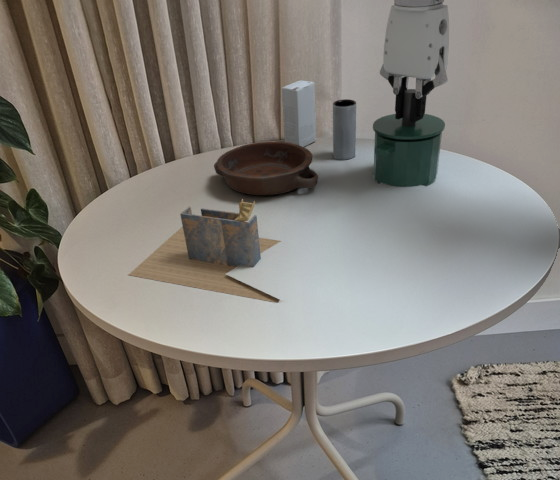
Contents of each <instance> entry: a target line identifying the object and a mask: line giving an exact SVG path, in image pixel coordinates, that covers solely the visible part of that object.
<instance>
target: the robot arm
mask: <svg viewBox="0 0 560 480" xmlns="http://www.w3.org/2000/svg"><path fill="white" fill-rule="evenodd" d="M444 2H445V0H394V1H393V5H391V6H390V10H389V14H388V18H387V22H386V29H385V36H384V45H383V55H382V56H383V61H382V62H383V63H382V65H381V68H380V70H379V75H380V76H381V77H383V78H384V79H385V80H387V81H388V83H389V85H390V86H391V88H392V93H393V95H395V101H394V102H395V103H394V112H395V113H394V114H395V119H401V118H402V114H403V100H404V91H405V90H407V89H409V88H408V87H409V78H412V79H413V78H414V79H415V89H416V90H415V97H414V98H413V99H412V105H411V118H410V121H411V122H413V123H415V122H417V121H419V120H420V119H422V118H423V116H424V114H426V105H427V97H428V95H430V94H431V92H432V91H433V90H434V89H435V88H437V87H440V86H442V85H445V84H446V83H447V82H448V81H449V80H448V76H447V72H446V71H447V68H448V61H449V49H450V47H449V46H450V17H449V16H450V15H449V6H448V5H447V4H444ZM434 76H435V77H434ZM433 77H434V78H433ZM432 78H433V79H432Z"/></svg>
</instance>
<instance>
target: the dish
mask: <svg viewBox="0 0 560 480" xmlns="http://www.w3.org/2000/svg"><path fill="white" fill-rule="evenodd" d="M313 159H314V156H313V153H312V152H311V150H309V149H308V148H306V147H302V146H300V145H297V144H293V143H288V142H285V141H277V140H276V141H261V142H260V141H259V142H253V143H252V142H251V143H247V144H244V145H241V146H238V147H235V148H233V149H231V150H228V151H226V152H224V153H223V154H221V155H220V156H219V157H218V159H217V160H216V162H215V163H214V165H213V168H214V170H215V173H216V174H217V175H218V176H221V177H223V178H224V181H225V182H226V184H227V185H228V186H229V187H230V188H231V189H232V190H234V191H236V192H239V193H242V194H247V195H254V196H273V195H279V194H280V195H281V194H286V193H288V192H291V191H294V190H295V189H313V188H316V187H317V186H318V183H319V175H318V173H317V172H316V171H313V170H312V169H311V168H310V165H311V164H312V162H313Z"/></svg>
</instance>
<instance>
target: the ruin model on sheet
mask: <svg viewBox="0 0 560 480" xmlns="http://www.w3.org/2000/svg"><path fill="white" fill-rule="evenodd" d="M255 204H256V201H255V200H253V202H247V201H246V202H245V201H244V199H243V198H242V199H241V201H240V203H238V208H239V209H238V210H239V212H233V211H225V210H218V209H212V208H211V209H209V208H203V207H201V208H200V214H201V215H199V214H193V212H192V206H187V208H185V209H184V210H183V211H181V213H179V215H180V220H181V227H180V228H179V229H177V231H175V233H173V234H172V235H171V236H170V237H168V239H167V240H165V241H164V242H163V243H162V244H161V245H160V246H159V247H158V248H156V249H155V250H154V251H153V252H152V253H150V255H148V257H146V258H145V259H144V260H143V261H142V262H141V263H139V265H138V266H136V267H135V268H134V269H133V270H132V271H131V272H130V273H128V276H132V277H138V278H144V279H148V280H155V281H159V282H164V283H170V284H175V285H181V286H185V287H191V288H197V289H203V290H207V291H214V292H218V293H224V294H228V295H235V296H239V297H246V298H250V299H251V298H252V299H255V300H262V301H266V302H267V301H268V302H273V303H279V302H280V300H281V299H279V298H277V297H275V296H273V295H271V294H269V293H267V292H265V291H263V290H260V289H258V288H257V287H254V286H251V285H250V284H247V283H245V282H243V281H241V280H239V279H236V278H235V277H232V276H230V275H229V274H228V273H229V272H232V271H233V270H235V269H237V268H238V267H240V266H244V267H250V268H255V266H256V265H258V263H259V262H260V261H261V259H262V257H261V254H262V253H264V252H265V251H267V250H269V249H270V248H272V247H274V246H276V245H277V244H279V243H281V242H282V240H277V239H270V238H264V237H259V235H260V234H259V225H258V216H257V215H256V214H254V215H253V216H251V215H252V213H253V211H254V208H255ZM250 217H251V218H250Z"/></svg>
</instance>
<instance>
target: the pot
mask: <svg viewBox="0 0 560 480" xmlns="http://www.w3.org/2000/svg"><path fill="white" fill-rule="evenodd" d="M442 134H443V131H442V132H441V133H439V134H437V135H435V136H432V137H428V138H422V139H412V140H404V139H393V138H388V137H384V136H381V135H379V134H377V133H376V132H375V131H374V146H373V147H374V150H373V174H372V175H373V179H374V181H375V183H377V184H378V185H379V184H383V185H388V186H391V187H400V188H401V187H403V188H410V187H418V186H423V187H428V186H430V185H432V184H433V183H434V182H435V181H436V180H437V176H438V170H439V162H440V153H441V147H442V146H441V144H442V136H443V135H442Z"/></svg>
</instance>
